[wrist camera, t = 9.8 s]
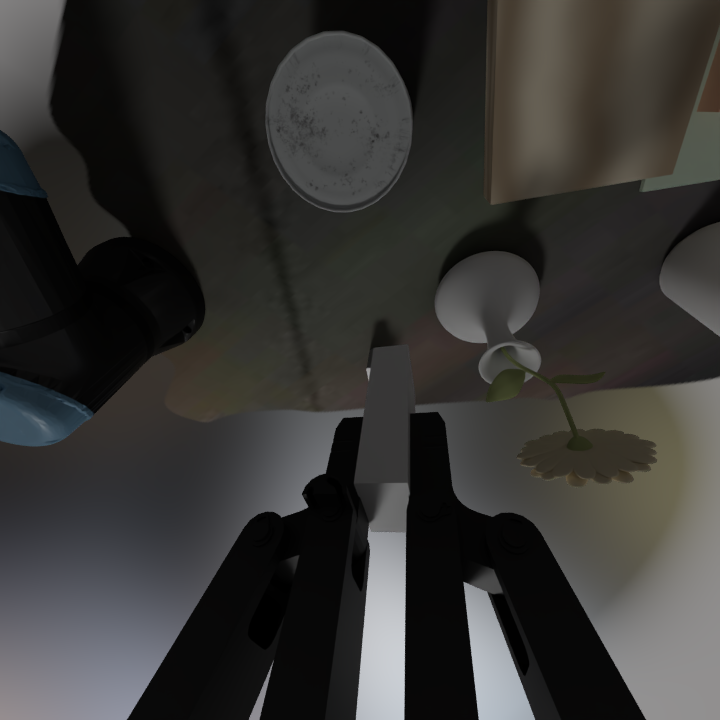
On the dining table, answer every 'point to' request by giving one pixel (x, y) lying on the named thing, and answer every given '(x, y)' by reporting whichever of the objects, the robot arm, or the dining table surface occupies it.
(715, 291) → the alcohol
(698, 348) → the dining table surface
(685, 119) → the birch board
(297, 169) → the white cylinder
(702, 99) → the terracotta tile
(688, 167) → the rubber mat
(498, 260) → the flower in vase
